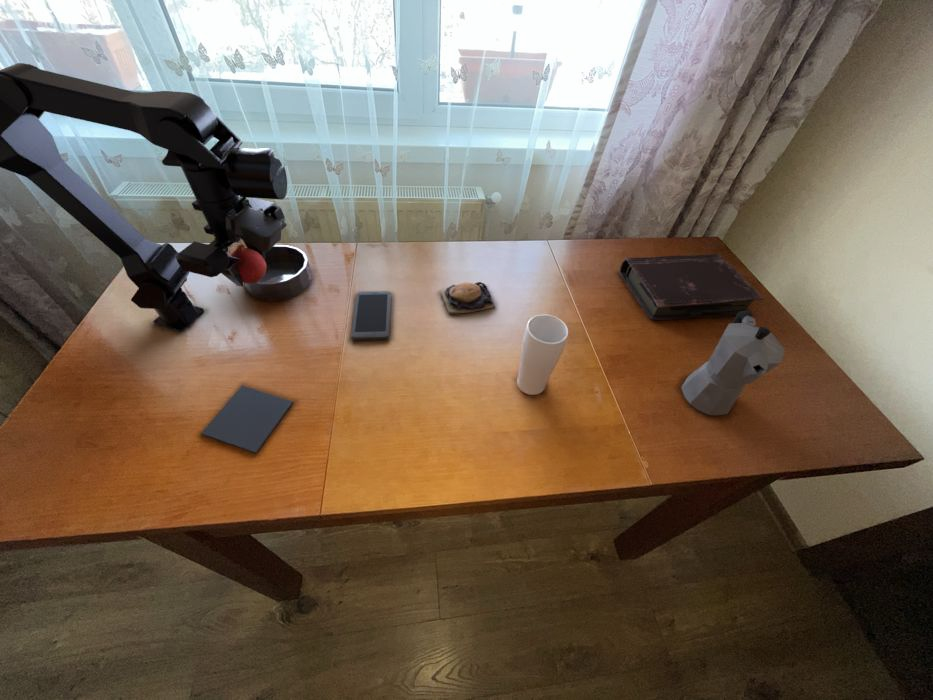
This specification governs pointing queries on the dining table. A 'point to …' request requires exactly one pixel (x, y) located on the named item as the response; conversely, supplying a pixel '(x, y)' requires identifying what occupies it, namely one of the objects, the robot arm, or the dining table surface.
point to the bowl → (282, 274)
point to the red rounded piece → (249, 264)
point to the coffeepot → (733, 365)
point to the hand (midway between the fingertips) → (251, 275)
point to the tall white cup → (540, 352)
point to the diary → (687, 286)
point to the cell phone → (371, 315)
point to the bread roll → (467, 298)
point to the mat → (248, 419)
